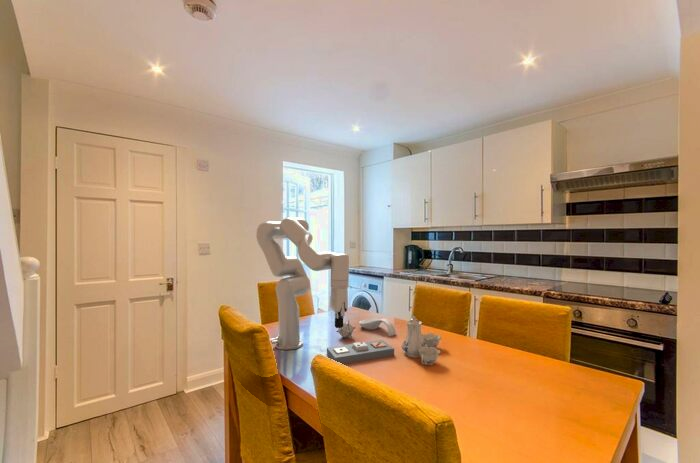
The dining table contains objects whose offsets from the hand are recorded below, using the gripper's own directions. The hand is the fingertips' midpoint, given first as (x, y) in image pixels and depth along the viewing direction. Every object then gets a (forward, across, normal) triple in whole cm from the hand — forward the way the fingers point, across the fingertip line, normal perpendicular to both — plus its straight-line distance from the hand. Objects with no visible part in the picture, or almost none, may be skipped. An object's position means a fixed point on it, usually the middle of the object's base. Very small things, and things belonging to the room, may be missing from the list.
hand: (338, 327), depth 135 cm
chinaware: (+12, +10, +34) cm, 37 cm away
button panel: (+12, +1, +9) cm, 16 cm away
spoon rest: (+13, -28, +31) cm, 43 cm away
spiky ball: (+13, -23, +11) cm, 29 cm away
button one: (+12, +1, +1) cm, 12 cm away
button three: (+11, +1, +18) cm, 21 cm away
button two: (+10, +1, +9) cm, 14 cm away
